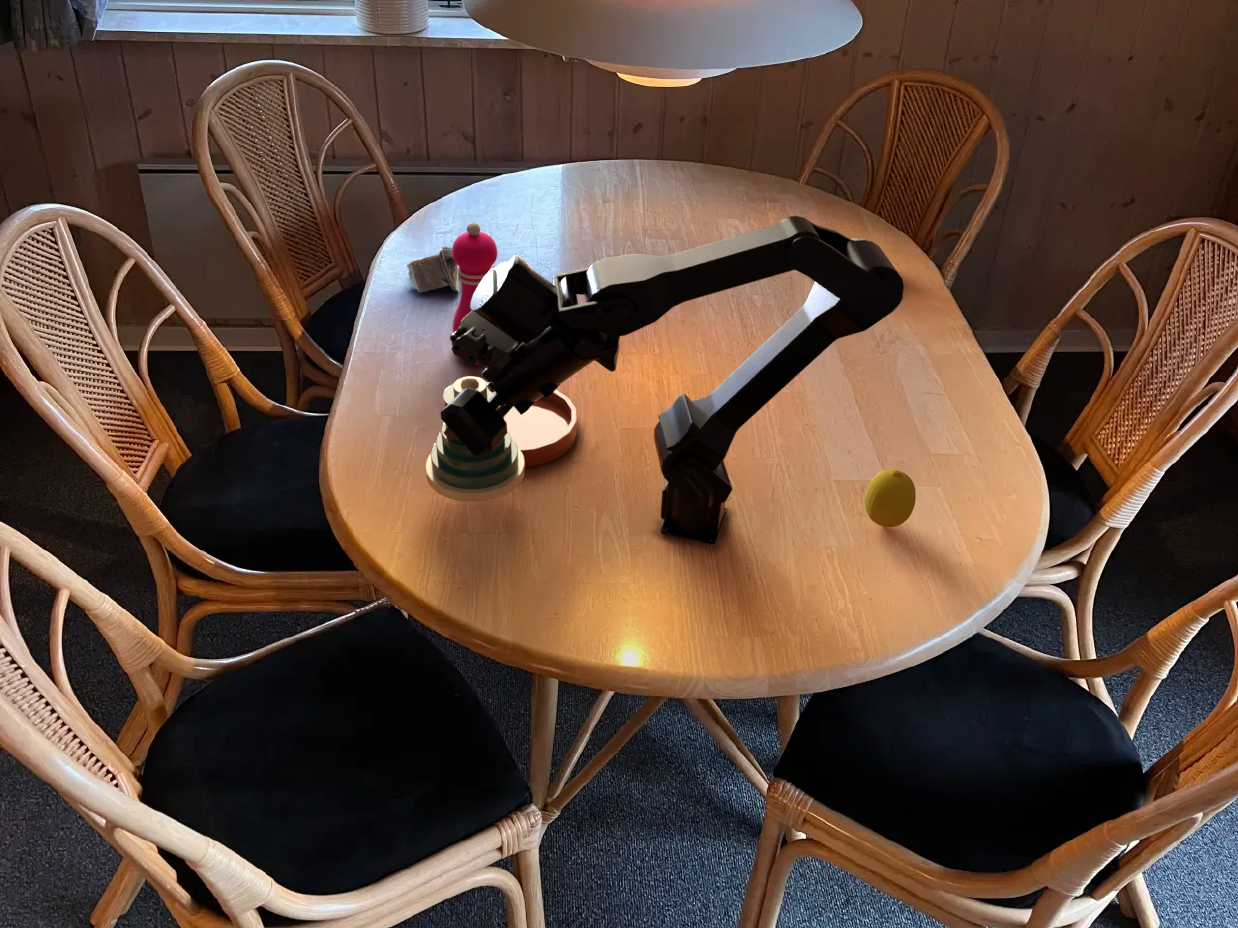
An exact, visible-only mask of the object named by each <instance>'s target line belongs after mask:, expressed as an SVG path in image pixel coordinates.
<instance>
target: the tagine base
mask: <svg viewBox="0 0 1238 928" xmlns="http://www.w3.org/2000/svg"><path fill="white" fill-rule="evenodd" d="M499 407H500V406H499ZM577 411H578V409H577V408H576V406H575V405H574V403H573V402H572V401H571V399H570V398H569V397H568V396H566V395H565V394H563V393H562V392H560V391H559V390H557V389H556V390H555V391H554V392H553V393H552V394H551V395H550V396H548V397H547V398H545V397H544V396H542V397H541V398H539V399H538V400H536V401H535V403H534V404H533V405H532V406H531V407H530V408H529V409H528V411H526V412H525V413H523V414H522V415H521V414H520V413H519V412H518V411H517V410H516V409H515V407H514V406H513V407H512V408H511V410H510V411H509V412H508V413H507V414H506V415H505V416H504V420H505V421H506V423H507V430H508V431H509V433H510V435H511V438H512V439H513V440H514V441H515V443H516V444H517V447H518V448H519V450H520V451H521V452H522V454H523V456H524V461H525V468H529V467H535V466H538V465H543V464H546V463H549V462H551V461H553V460H556V459H557V458H559V457H561V456H562V455H563V454H565V453H566V452H567V451H568V450H569V449H571V447H572V446H573V444H574V443H575V441H576V438H577V431H578V414H577V413H578V412H577Z"/></svg>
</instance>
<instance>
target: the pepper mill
mask: <svg viewBox="0 0 1238 928" xmlns="http://www.w3.org/2000/svg"><path fill="white" fill-rule="evenodd" d="M451 248H452V256H453V259H454V261H455V263H456V264H457V265H458V267H457V272H458V274H457V277H458V279H459V282H460V287H461V288H460V289H461V290H460V291H461V292H460V298H459V302H458V305H457V307H456V309H455V313H454V316H453V319H452V334H453V333H454V332H455V331H457V329H458V327H459V325H460V323H461V320H462V319H463V318H464V317H465V316H467V315H468V314H469V313H470V312H471V311H472V310H471V308H470V303H471V299H472V296H473V294H474V292H475V290H476V288H477V287H478V285H479V283H480V282H481V280H482V279H483V278H484V276H485V275H486V274H487V273H488V272H489V271H490V269H492V268H493V269H494V268H495V266H494V264H495V263H496V261H497V259H498V248H497V244H496V241H495V240H494V239H493V238H492V237H491V236H490V235H489V234H488V233H486V232H483V231H481V226H480V224H479V223H478V222H475V221H471V222H470V223H468V224H467V226H466V232H463V233H461V234H460V235H459V236H457V237H456V239H454V241H453V243H452V247H451ZM460 361H462V362H464V363H465V364H467V363H466V362H465V361H463V360H462V359H460ZM474 366H481V365H480V364H479V363H476V364H475V365H474Z"/></svg>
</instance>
